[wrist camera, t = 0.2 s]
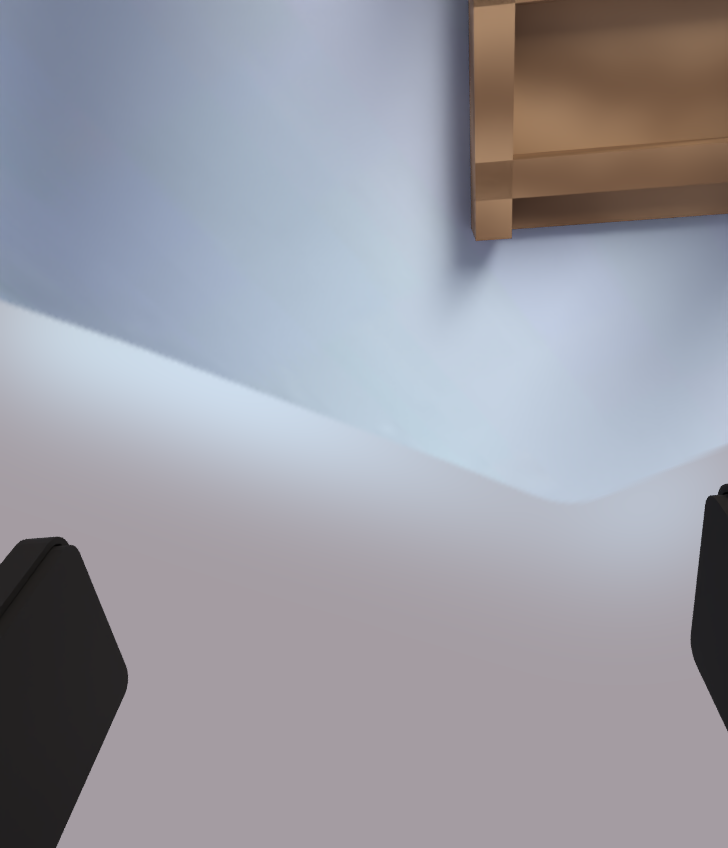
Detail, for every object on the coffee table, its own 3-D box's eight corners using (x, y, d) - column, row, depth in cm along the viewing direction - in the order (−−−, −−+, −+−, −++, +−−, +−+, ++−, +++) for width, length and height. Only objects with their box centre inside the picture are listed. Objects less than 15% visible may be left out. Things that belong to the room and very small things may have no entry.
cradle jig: (467, -85, 31) (472, -98, 29) (840, -127, 30) (881, -146, 27) (471, 228, 38) (476, 240, 35) (777, 205, 36) (805, 217, 34)
